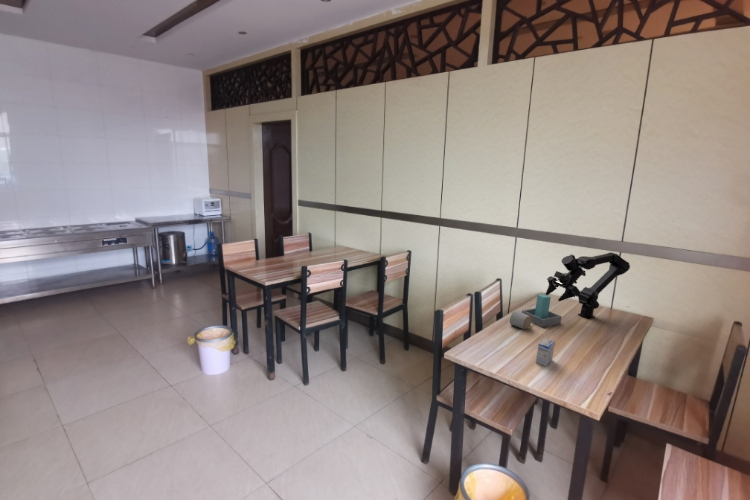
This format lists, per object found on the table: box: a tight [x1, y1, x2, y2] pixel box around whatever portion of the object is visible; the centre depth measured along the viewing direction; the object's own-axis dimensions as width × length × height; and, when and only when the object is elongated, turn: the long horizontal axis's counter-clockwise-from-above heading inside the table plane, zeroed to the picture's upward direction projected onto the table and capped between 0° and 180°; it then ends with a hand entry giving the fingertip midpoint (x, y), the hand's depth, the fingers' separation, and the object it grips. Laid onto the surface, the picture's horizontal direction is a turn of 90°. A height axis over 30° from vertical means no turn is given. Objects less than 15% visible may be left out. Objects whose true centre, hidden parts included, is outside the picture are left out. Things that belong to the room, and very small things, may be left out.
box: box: [521, 307, 563, 328], centre depth 206 cm, size 14×14×4 cm
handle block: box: [535, 293, 552, 319], centre depth 205 cm, size 4×4×13 cm
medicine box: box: [535, 337, 556, 367], centre depth 162 cm, size 8×4×9 cm, turn 141°
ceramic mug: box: [509, 310, 532, 330], centre depth 197 cm, size 11×8×8 cm
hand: (552, 297), depth 205 cm, fingers open, 9 cm apart
